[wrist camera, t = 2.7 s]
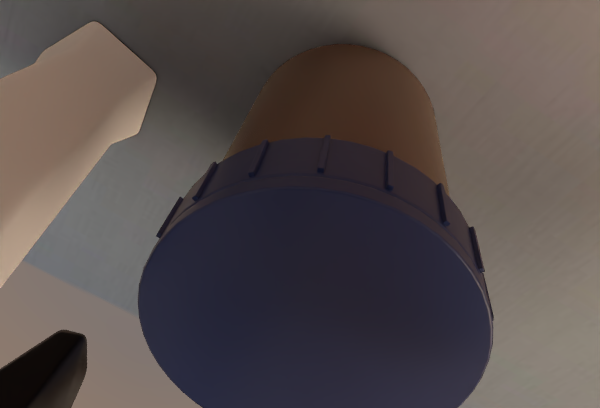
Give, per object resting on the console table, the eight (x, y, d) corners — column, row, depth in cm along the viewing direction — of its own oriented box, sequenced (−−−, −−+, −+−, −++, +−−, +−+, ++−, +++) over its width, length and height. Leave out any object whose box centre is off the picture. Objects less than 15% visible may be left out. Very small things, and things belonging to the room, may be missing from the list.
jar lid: (358, 418, 14) (354, 487, 13) (122, 292, 13) (85, 353, 11) (555, 254, 11) (584, 322, 9) (260, 62, 10) (234, 103, 8)
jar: (363, 239, 20) (350, 453, 13) (221, 153, 19) (118, 335, 12) (476, 114, 17) (542, 304, 10) (314, 2, 16) (252, 123, 9)
